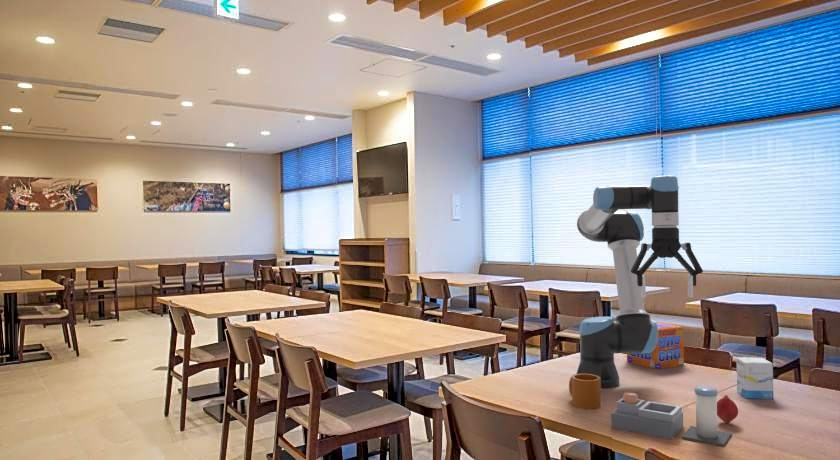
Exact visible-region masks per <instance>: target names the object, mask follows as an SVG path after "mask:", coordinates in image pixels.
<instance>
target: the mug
mask: <svg viewBox="0 0 840 460" xmlns="http://www.w3.org/2000/svg"><path fill="white" fill-rule="evenodd" d="M568 389H569V394H570V396H571V404H572V407H574V408H577V409H582V410H597V409H600V408H601V407H602V404H601V403H602V400H601V399H602V390H601V389H602V388H601V378H600V377H599V376H597V375H593V374H576V373H575V374H572V375H571V376H570V379H569V381H568Z"/></svg>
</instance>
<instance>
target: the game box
mask: <svg viewBox="0 0 840 460" xmlns="http://www.w3.org/2000/svg"><path fill="white" fill-rule="evenodd" d="M655 322H656V325H657V327H658V339H657V344H656V347H655V349H654V350H653V351H652V352H650V353H641V354H639V353H626V361H627V362H628V363H632V364H635V365H638V366H642V367H647V368H649V367H650V369H653V368H654V370H656V369H659V370H660V369H663V368H670V367H678V366H683V365H684V364H685V349H684V326H680V325H675V324H671V323H664V322H659V321H658V322H657V321H655Z"/></svg>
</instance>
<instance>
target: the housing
mask: <svg viewBox="0 0 840 460" xmlns="http://www.w3.org/2000/svg"><path fill="white" fill-rule="evenodd" d="M615 405H616V406H615V407H616V409H615V410H614V411H612V412H611V413H610V420H611V421H610V426H611V428H612V429H617V430H622V431H627V432H631V433H638V434H642V435H647V436H653V437H656V438H657V437H658V438H663V439H668V440H672V439H674V438H675V436H677V434H678V433H679V432H680V431H681V430H682V429H683V428H684V412H683V407H682V406H681V405H674V404H669V403H661V402H655V401H649V400H648V401H647V402H646V400H645V399H639V398H637V404H630V403H624V396H623V397H622V398H620V399H619V400H617V401H616V404H615Z"/></svg>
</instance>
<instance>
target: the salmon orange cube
mask: <svg viewBox="0 0 840 460" xmlns="http://www.w3.org/2000/svg"><path fill="white" fill-rule="evenodd" d="M623 397H624V403H630V404H637V399H638V394H637V393H635V392H623Z"/></svg>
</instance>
